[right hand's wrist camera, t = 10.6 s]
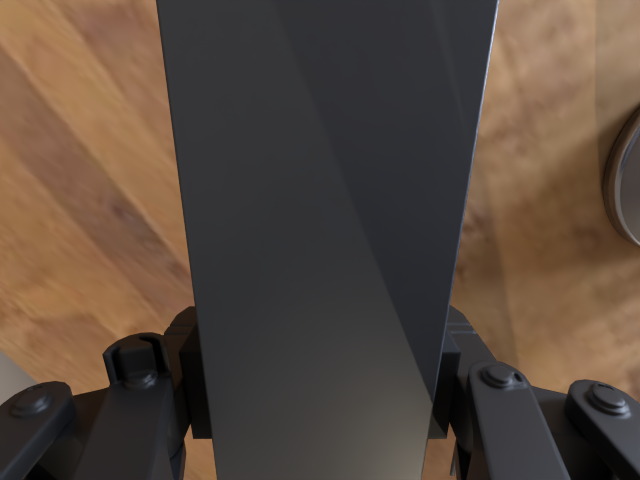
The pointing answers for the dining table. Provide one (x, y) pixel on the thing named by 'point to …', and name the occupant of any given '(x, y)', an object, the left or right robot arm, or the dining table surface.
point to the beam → (323, 219)
